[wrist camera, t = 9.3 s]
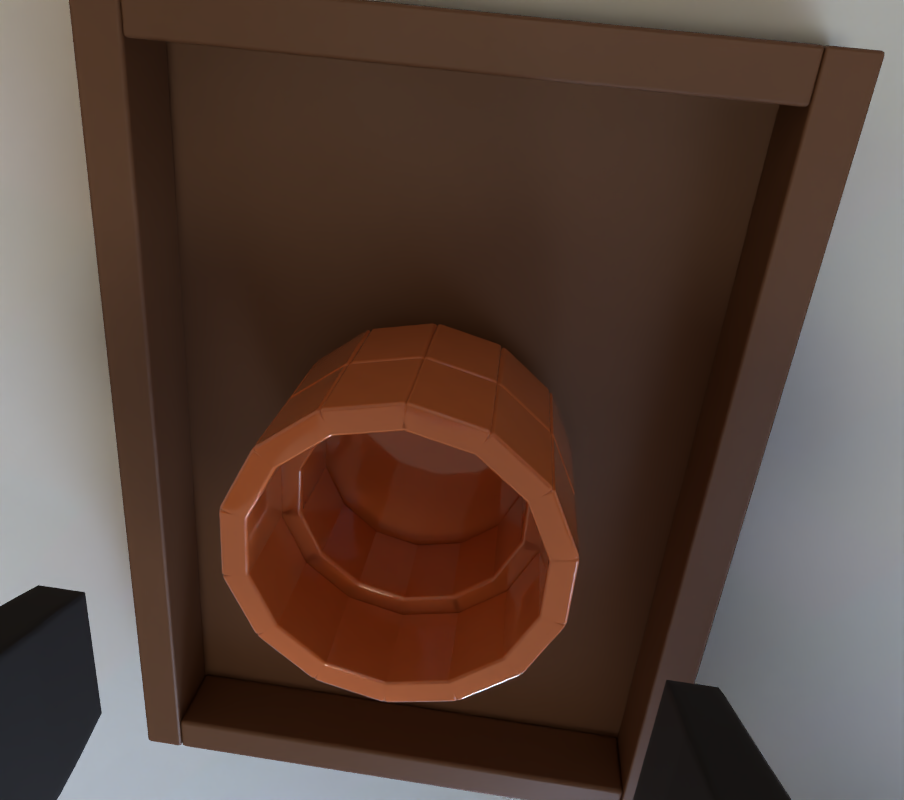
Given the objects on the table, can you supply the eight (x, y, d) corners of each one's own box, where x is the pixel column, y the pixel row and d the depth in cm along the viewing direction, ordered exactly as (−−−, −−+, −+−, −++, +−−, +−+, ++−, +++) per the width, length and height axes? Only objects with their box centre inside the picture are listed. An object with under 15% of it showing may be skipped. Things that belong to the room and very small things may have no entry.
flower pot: (589, 331, 14) (606, 428, 10) (545, 578, 16) (546, 728, 13) (295, 295, 14) (211, 377, 11) (294, 542, 17) (225, 678, 13)
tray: (835, 51, 12) (886, 51, 10) (642, 747, 19) (653, 822, 17) (132, -18, 13) (63, -30, 11) (184, 677, 19) (147, 741, 18)
